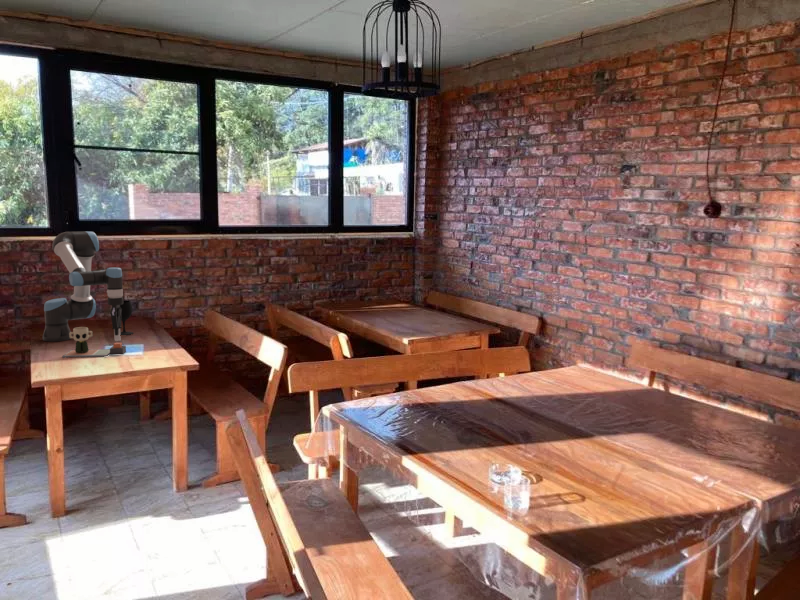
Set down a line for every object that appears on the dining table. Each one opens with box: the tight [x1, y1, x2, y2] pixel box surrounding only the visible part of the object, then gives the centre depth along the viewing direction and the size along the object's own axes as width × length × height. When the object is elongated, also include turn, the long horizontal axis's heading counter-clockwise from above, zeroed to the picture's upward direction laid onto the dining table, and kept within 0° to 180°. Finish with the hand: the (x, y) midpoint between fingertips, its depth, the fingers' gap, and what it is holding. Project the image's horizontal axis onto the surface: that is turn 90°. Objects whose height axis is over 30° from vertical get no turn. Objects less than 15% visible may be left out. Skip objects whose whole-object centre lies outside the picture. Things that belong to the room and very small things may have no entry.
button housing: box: [109, 345, 127, 355], centre depth 341 cm, size 6×6×4 cm
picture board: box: [61, 348, 110, 359], centre depth 339 cm, size 15×22×1 cm
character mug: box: [69, 326, 93, 353], centre depth 338 cm, size 11×7×13 cm, turn 116°
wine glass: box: [120, 300, 134, 336], centre depth 389 cm, size 10×10×20 cm
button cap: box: [112, 342, 123, 348], centre depth 341 cm, size 3×3×3 cm
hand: (117, 340), depth 340 cm, fingers closed
